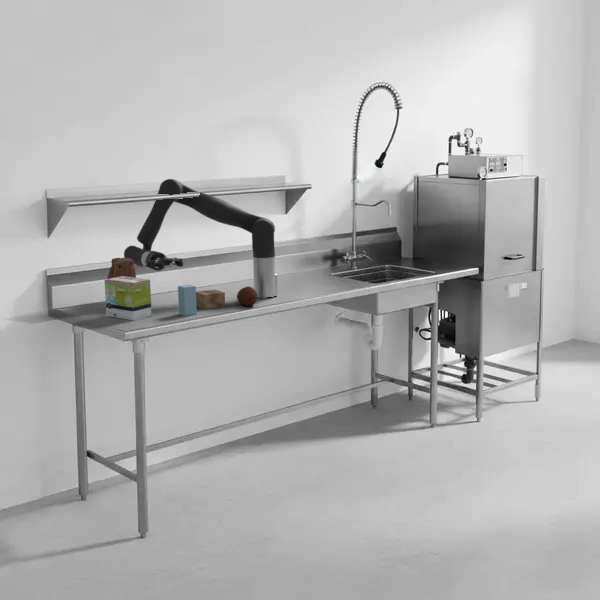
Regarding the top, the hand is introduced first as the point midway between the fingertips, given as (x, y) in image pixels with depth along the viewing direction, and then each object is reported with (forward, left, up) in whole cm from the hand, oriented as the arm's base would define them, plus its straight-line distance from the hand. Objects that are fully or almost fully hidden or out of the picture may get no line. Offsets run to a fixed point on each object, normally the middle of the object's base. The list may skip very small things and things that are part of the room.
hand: (172, 264), depth 349 cm
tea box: (+20, +1, -18) cm, 27 cm away
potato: (-28, +10, -18) cm, 35 cm away
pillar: (0, +11, -18) cm, 21 cm away
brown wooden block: (-15, +2, -18) cm, 24 cm away
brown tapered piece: (+14, -18, -18) cm, 29 cm away
